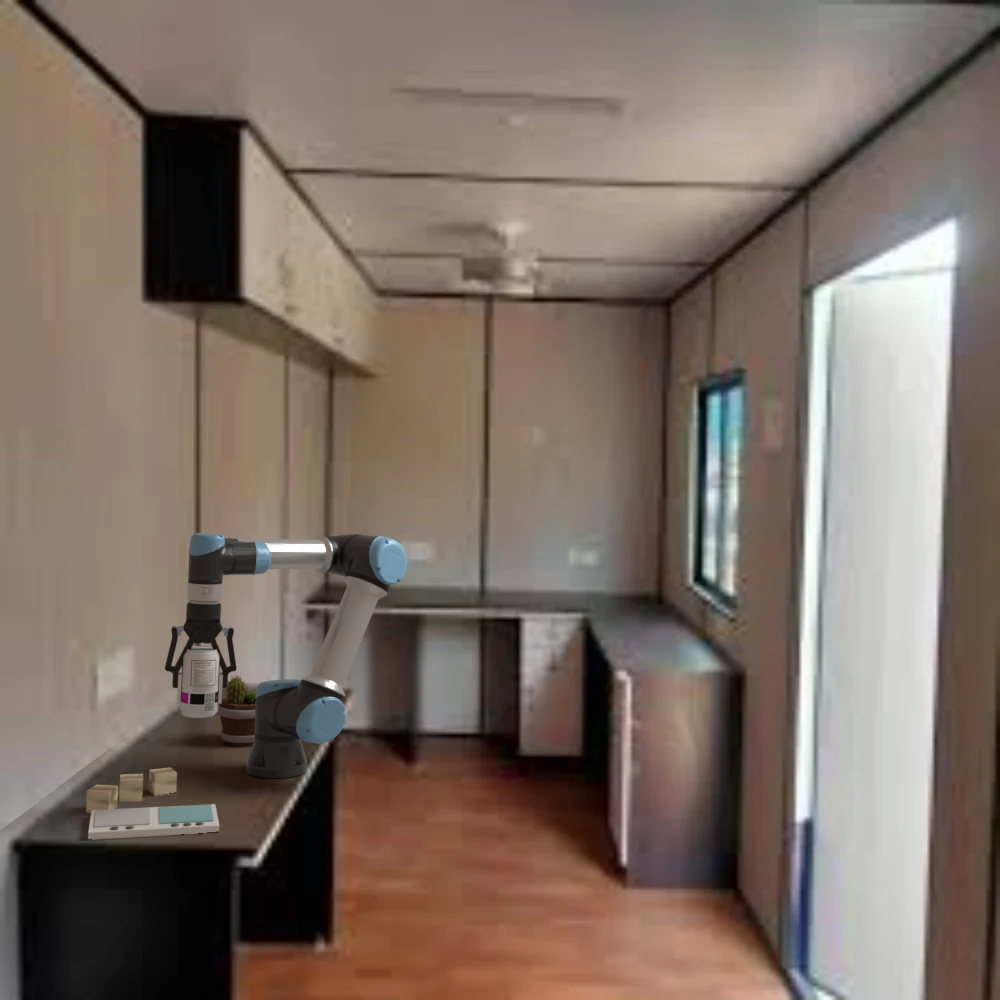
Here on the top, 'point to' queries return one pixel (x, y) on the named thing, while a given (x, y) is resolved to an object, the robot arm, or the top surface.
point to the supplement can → (200, 682)
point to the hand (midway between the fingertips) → (199, 702)
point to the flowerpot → (238, 714)
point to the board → (152, 821)
